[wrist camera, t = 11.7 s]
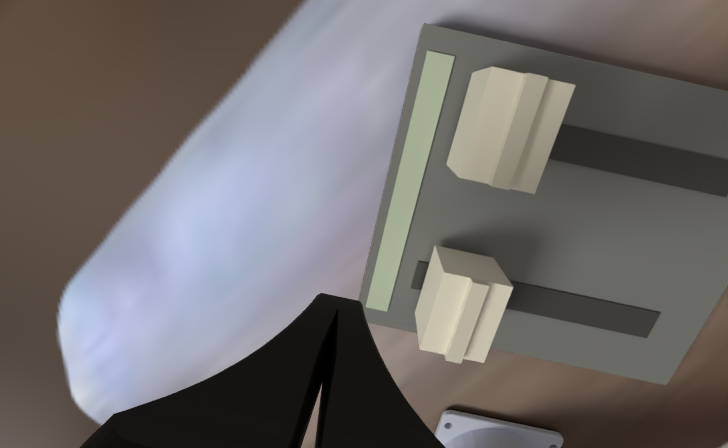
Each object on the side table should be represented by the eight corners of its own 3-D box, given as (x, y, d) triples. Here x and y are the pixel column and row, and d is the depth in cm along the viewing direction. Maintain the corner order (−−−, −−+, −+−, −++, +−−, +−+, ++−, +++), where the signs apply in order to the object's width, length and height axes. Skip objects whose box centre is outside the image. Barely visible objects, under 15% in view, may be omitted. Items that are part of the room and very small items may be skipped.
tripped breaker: (509, 178, 17) (538, 196, 14) (446, 164, 17) (460, 180, 14) (540, 87, 15) (581, 84, 12) (472, 72, 15) (495, 65, 12)
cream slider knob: (469, 324, 19) (486, 368, 16) (414, 312, 19) (420, 355, 16) (493, 257, 18) (516, 291, 15) (434, 245, 18) (445, 276, 15)
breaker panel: (648, 367, 22) (668, 388, 20) (357, 305, 22) (354, 321, 20) (795, 113, 17) (838, 114, 15) (420, 29, 17) (424, 22, 15)
